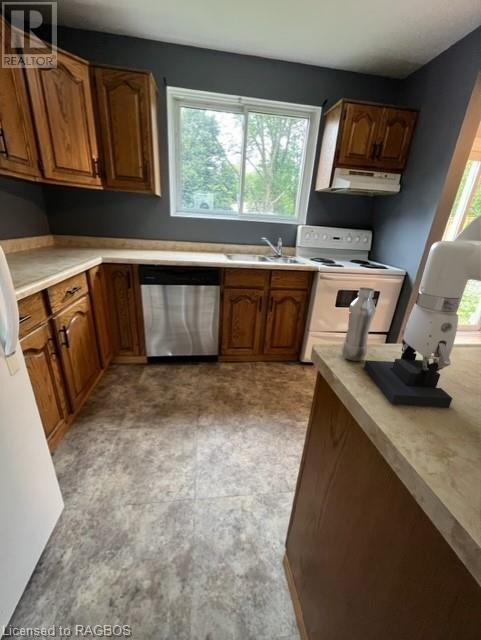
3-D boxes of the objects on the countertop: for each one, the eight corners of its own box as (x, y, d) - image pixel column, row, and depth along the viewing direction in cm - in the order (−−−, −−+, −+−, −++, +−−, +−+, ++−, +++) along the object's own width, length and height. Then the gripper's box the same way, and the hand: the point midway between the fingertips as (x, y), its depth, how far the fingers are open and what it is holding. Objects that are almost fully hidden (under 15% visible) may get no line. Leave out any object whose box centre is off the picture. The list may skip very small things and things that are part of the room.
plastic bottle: (370, 361, 75) (387, 291, 68) (351, 365, 72) (366, 292, 65) (353, 351, 80) (367, 285, 73) (334, 354, 78) (347, 286, 71)
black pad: (418, 372, 66) (422, 360, 65) (436, 388, 60) (440, 374, 59) (391, 371, 66) (395, 358, 65) (406, 386, 60) (410, 372, 59)
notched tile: (409, 370, 71) (411, 362, 70) (449, 408, 57) (452, 398, 56) (363, 368, 71) (365, 360, 70) (391, 404, 57) (394, 394, 56)
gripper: (489, 317, 49) (456, 400, 55) (428, 293, 65) (409, 359, 71) (447, 314, 49) (419, 397, 55) (397, 291, 65) (380, 357, 71)
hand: (413, 375), depth 63 cm, fingers closed on black pad, 6 cm apart
